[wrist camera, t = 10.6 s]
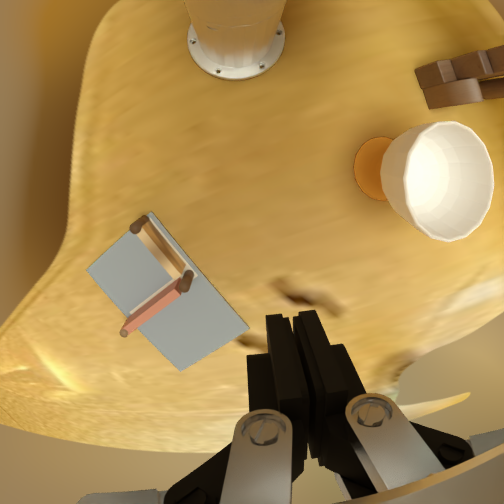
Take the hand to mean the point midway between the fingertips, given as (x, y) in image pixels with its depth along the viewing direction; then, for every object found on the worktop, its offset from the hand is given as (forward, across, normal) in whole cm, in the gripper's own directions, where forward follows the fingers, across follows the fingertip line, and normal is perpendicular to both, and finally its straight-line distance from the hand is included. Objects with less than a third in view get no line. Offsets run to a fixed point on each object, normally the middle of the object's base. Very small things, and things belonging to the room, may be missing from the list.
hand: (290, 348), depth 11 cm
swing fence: (+32, +15, +14) cm, 38 cm away
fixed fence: (+33, +12, +6) cm, 35 cm away
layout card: (+33, +14, +14) cm, 38 cm away
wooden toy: (+34, -34, -16) cm, 50 cm away
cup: (+34, -19, -2) cm, 38 cm away
